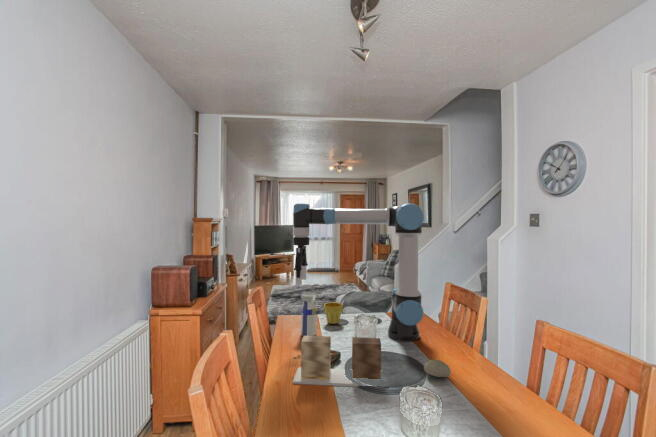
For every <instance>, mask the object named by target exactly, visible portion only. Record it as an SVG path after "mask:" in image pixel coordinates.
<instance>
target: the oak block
mask: <svg viewBox="0 0 656 437" xmlns="http://www.w3.org/2000/svg"><path fill="white" fill-rule="evenodd" d="M331 338H332V337H331V336H329V335H328V336H325V335H314V336H303V337H302V339H301V342H300V344H301V345H300V346H301V348H300V350H301V352H300V355H301V356H300V357H301V358H300V363H301V364H300V367H301V378H306V379H329V378H330V372H331V369H332V367H331V350H332V349H331V348H332V345H331V344H332V342H331V341H332V339H331Z"/></svg>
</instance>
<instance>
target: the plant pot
mask: <svg viewBox="0 0 656 437" xmlns="http://www.w3.org/2000/svg"><path fill="white" fill-rule="evenodd" d="M343 307H344V306H343V304H342V303H340V302H333V301H331V302H326V303H324V305H323V310H324V312H325V316H326V322H327V323H328V324H329V325H330V324H332V325H336V324H339V322H340V320H341V316H342V312H343V309H344V308H343Z"/></svg>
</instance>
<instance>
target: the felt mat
mask: <svg viewBox="0 0 656 437" xmlns="http://www.w3.org/2000/svg"><path fill="white" fill-rule="evenodd" d="M292 384H293V385H313V386H315V385H316V386H337V387H359V386H358V385H357V384H356V383H354V382H352V381H351V380H349V379H348V378H347V377H346V375H345V368H331V372H330V378H329V379H306V378H301V366H300V367H297V369H296V372H295V374H294V377H293V380H292Z"/></svg>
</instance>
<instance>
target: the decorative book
mask: <svg viewBox="0 0 656 437" xmlns="http://www.w3.org/2000/svg"><path fill="white" fill-rule="evenodd" d="M341 355H342V354H341V351H339V350H333V349H331V368H332V366H333V365H335V364H336V363H338V362H340V361H341V360H340V359H341ZM297 358H299V359H301V354H300V355H296V356H295V357H293V359H295V360H296V359H297Z"/></svg>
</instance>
